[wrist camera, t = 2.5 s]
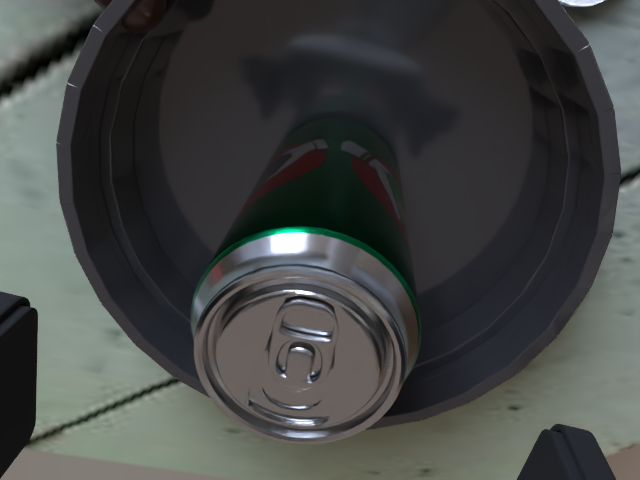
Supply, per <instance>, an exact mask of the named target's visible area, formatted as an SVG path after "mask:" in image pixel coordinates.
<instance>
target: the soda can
mask: <svg viewBox="0 0 640 480" xmlns="http://www.w3.org/2000/svg"><path fill="white" fill-rule="evenodd" d="M191 330H192V336H193V341H194V359H195V365H196V370H197V373H198V375H199V378H200V381H201V383H202V385H203V387H204V388H205V390H206V392H207V394H208V395H209V396H210V398H211V399H212V400H213V401H214V403H215V404H216V405H217V406H218V407H219V408H220V409H221V410H222V411H223V412H224V413H225V414H226V415H227V416H228V417H230V418H231V419H233V420H234V421H235V422H237V423H238V424H239V425H241V426H243V427H245V428H247V429H248V430H250V431H252V432H254V433H257V434H259V435H262V436H264V437H267V438H270V439H274V440H278V441H282V442H288V443H295V444H320V443H329V442H333V441H337V440H342V439H345V438H347V437H350V436H353V435H355V434H358V433H359V432H361V431H363V430H365V429H367V428H368V427H370V426H371V425H373V424H374V423H375V422H376V421H378V420H379V419H380V418H381V417H382V416H383V415H384V414H385V413H386V412H387V411H388V410H389V409H390V407H391V406H392V404H393V403H394V401H395V400H396V398H397V397H398V394H399V392H400V389H401V387H402V384H403V383H404V382H405V380H406V378H407V377H408V375H409V374H410V372H411V371H412V369H413V366H414V364H415V362H416V359H417V357H418V353H419V348H420V343H421V319H420V312H419V305H418V298H417V290H416V283H415V276H414V269H413V262H412V255H411V248H410V240H409V233H408V226H407V219H406V212H405V205H404V198H403V190H402V183H401V176H400V170H399V165H398V162H397V159H396V156H395V154H394V152H393V150H392V148H391V147H390V145H389V144H388V143H387V141H386V140H385V139H384V138H383V137H382V136H381V135H380V134H379V133H378V132H377V131H376V130H374V129H373V128H371V127H370V126H368V125H366V124H364V123H362V122H360V121H358V120H354V119H351V118H347V117H339V116H326V117H321V118H316V119H313V120H310V121H307V122H305V123H303V124H301V125H299V126H298V127H296V128H295V129H293V130H292V131H291V132H290V133H288V134H287V135H286V136H285V138H284V139H283V140H282V141H281V142H280V144H279V145H278V147H277V149H276V150H275V152H274V154H273V155H272V157H271V159H270V160H269V162H268V164H267V166H266V167H265V169H264V171H263V172H262V174H261V176H260V178H259V179H258V181H257V183H256V184H255V186H254V188H253V190H252V191H251V193H250V195H249V196H248V198H247V200H246V202H245V203H244V205H243V207H242V208H241V210H240V212H239V214H238V215H237V217H236V219H235V220H234V222H233V224H232V225H231V227H230V229H229V231H228V232H227V234H226V236H225V237H224V239H223V241H222V243H221V244H220V246H219V248H218V249H217V251H216V253H215V255H214V256H213V258H212V260H211V261H210V263H209V265H208V267H207V268H206V270H205V272H204V273H203V275H202V277H201V279H200V280H199V283H198V285H197V288H196V290H195V293H194V296H193V301H192V306H191Z"/></svg>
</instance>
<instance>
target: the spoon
mask: <svg viewBox="0 0 640 480" xmlns="http://www.w3.org/2000/svg"><path fill="white" fill-rule="evenodd" d="M558 1H559V2H560V3H561V5H564V6H567V7H568V6H570V7H578V8H579V7H590V6H593V5H595V4H598V3H600V2H603V1H605V0H558Z"/></svg>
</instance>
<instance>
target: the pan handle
mask: <svg viewBox="0 0 640 480" xmlns="http://www.w3.org/2000/svg"><path fill="white" fill-rule="evenodd" d="M94 1H95V2H96V3H97V4H98V5H99V6H100V7H101V8H102V9H103V10H105V9H106V8H107V6H108V5H109V4H110V3H111V1H112V0H94ZM165 12H166V0H143V1H142V2H141V3H140V4H139V5H138V6H137V7H136V8H135V9H134V10H133V12H132V13H131V14H130V15H129V17H128V18H127V20H126V22H125V24H124V29H125V30H127V31H130V32H134V33H145V32H148V31H151V30H153V29H155V28H156V27H157V26H158V25H159V24H160V23H161V22H162V20H163V18H164V16H165Z"/></svg>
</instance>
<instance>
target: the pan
mask: <svg viewBox="0 0 640 480" xmlns="http://www.w3.org/2000/svg"><path fill="white" fill-rule="evenodd" d="M142 1H143V0H112V1H111V3H110V4H109V5H108V6H107V8H106V9H105V10H104V11H103V13H102V14H101V15H100V16H99V17H98V19H97V20H96V21H95V23H94V25H93V26H92V28H91V30H90V33H89V35H88V37H87V39H86V41H85V44H84V46H83V48H82V50H81V52H80V55H79V57H78V59H77V61H76V64H75V66H74V68H73V70H72V72H71V75H70V77H69V79H68V83H67V86H66V91H65V97H64V102H63V108H62V113H61V119H60V125H59V130H58V136H57V144H56V146H57V164H58V181H59V198H60V204H61V207H62V211H63V214H64V218H65V221H66V225H67V228H68V232H69V235H70V239H71V242H72V246H73V249H74V253H75V254H76V257H77V259H78V261H79V263H80V265H81V266H82V268H83V270H84V272H85V274H86V276H87V278H88V280H89V281H90V283H91V285H92V287H93V289H94V291H95V293H96V295H97V297H98V298H99V300H100V302H102V305H103V306H104V307H105V309H106V310H107V311H108V312H109V313H110V315H111V316H112V317H113V318H114V320H115V321H116V322H117V323H118V324H119V326H120V327H121V328H122V329H123V331H124V332H125V333H126V334H127V335H128V337H129V338H130V339H131V340H132V342H133V343H135V345H136V346H137V347H139V348H140V349H141V350H142V351H143V352H145V353H146V354H147V355H148V356H149V357H151V358H152V359H153V360H154V361H155V362H157V363H158V364H159V365H160V366H161V367H162V368H164V369H165V370H166V371H167V372H168V373H170V374H171V375H172V376H173V377H175V378H176V379H178V380H180V381H181V382H183V383H185V384H187V385H188V386H190V387H192V388H194V389H195V390H197V391H199V392H201V393H202V394H204V395H206V396H208V397H209V398H210V396H209V395H208V394H207V392H206V390H205V388H204V387H203V385H202V383H201V381H200V378H199V375H198V373H197V370H196V365H195V359H194V341H193V336H192V330H191V306H192V301H193V296H194V293H195V290H196V288H197V285H198V283H199V280H200V279H201V277H202V275H203V273H204V272H205V270H206V268H207V267H208V265H209V263H210V261H211V260H212V258H213V256H214V255H215V253H216V251H217V249H218V248H219V246H220V244H221V243H222V241H223V239H224V237H225V236H226V234H227V232H228V231H229V229H230V227H231V225H232V224H233V222H234V220H235V219H236V217H237V215H238V214H239V212H240V210H241V208H242V207H243V205H244V203H245V202H246V200H247V198H248V196H249V195H250V193H251V191H252V190H253V188H254V186H255V184H256V183H257V181H258V179H259V178H260V176H261V174H262V172H263V171H264V169H265V167H266V166H267V164H268V162H269V160H270V159H271V157H272V155H273V154H274V152H275V150H276V149H277V147H278V145H279V144H280V142H281V141H282V140H283V139H284V138H285V136H286V135H287V134H288V133H290V132H291V131H292V130H293V129H295V128H296V127H298V126H299V125H301V124H303V123H305V122H307V121H310V120H313V119H316V118H321V117H326V116H339V117H347V118H351V119H354V120H358V121H360V122H362V123H364V124H366V125H368V126H370V127H371V128H373V129H374V130H376V131H377V132H378V133H379V134H380V135H381V136H382V137H383V138H384V139H385V140H386V141H387V143H388V144H389V145H390V147H391V148H392V150H393V152H394V154H395V156H396V159H397V162H398V165H399V170H400V176H401V183H402V190H403V198H404V205H405V212H406V219H407V226H408V233H409V240H410V248H411V255H412V262H413V269H414V276H415V283H416V290H417V298H418V305H419V312H420V319H421V343H420V348H419V353H418V357H417V359H416V362H415V364H414V366H413V369H412V371H411V372H410V374H409V375H408V377H407V378H406V380H405V382H404V383H403V384H402V387H401V389H400V392H399V394H398V397H397V398H396V400H395V401H394V403H393V404H392V406H391V407H390V409H389V410H388V411H387V412H386V413H385V414H384V415H383V416H382V417H381V418H380V419H379V420H378V421H376V422H375V423H374V424H373V425H371V426H370V427H368V428H367V429H376V428H381V427H387V426H393V425H398V424H404V423H410V422H415V421H420V420H421V419H422V420H424V419H427V418H429V417H432V416H435V415H437V414H440V413H443V412H446V411H448V410H451V409H454V408H456V407H459V406H462V405H464V404H467V403H470V402H471V401H473V400H475V399H477V398H478V397H480V396H482V395H483V394H485V393H486V392H488V391H490V390H491V389H493V388H495V387H496V386H498V385H500V384H501V383H503V382H505V381H506V380H508V379H509V378H511V377H513V376H514V375H516V373H519V372H520V371H521V370H522V369H523V368H524V367H525V366H526V365H527V364H528V363H530V362H531V361H532V360H533V359H534V358H535V357H536V356H537V355H538V354H539V353H540V352H541V351H542V350H544V349H545V348H546V347H547V346H548V345H549V344H550V343H551V342H552V341H553V340H554V339H555V338H556V337H557V336H558V335H559V333H560V332H561V331H562V329H563V328H564V326H565V325H566V323H567V322H568V321H569V319H570V318H571V316H572V315H573V313H574V312H575V311H576V309H577V308H578V306H579V305H580V303H581V302H582V301H583V299H584V298H585V296H586V295H587V293H588V292H589V289H590V288H591V286H592V284H593V281H594V279H595V276H596V274H597V271H598V269H599V266H600V264H601V261H602V259H603V256H604V254H605V252H606V249H607V247H608V244H609V242H610V239H611V237H612V233H613V226H614V219H615V212H616V205H617V199H618V192H619V185H620V178H621V166H620V157H619V148H618V139H617V130H616V120H615V111H614V109H613V103H612V101H611V98H610V96H609V93H608V90H607V88H606V85H605V83H604V80H603V77H602V75H601V72H600V69H599V67H598V64H597V62H596V59H595V56H594V54H593V51H592V49H591V46H590V45H589V42H588V41H587V39H586V38H585V36H584V35H583V34H582V32H581V31H580V30H579V28H578V27H577V25H576V24H575V23H574V21H573V20H572V19H571V17H570V16H569V14H568V13H567V12H566V10H565V9H564V8H563V6H562V5H561V3H560V2H559V1H558V0H166V12H165V16H164V18H163V20H162V22H161V23H160V24H159V25H158V26H157V27H156V28H155V29H153V30H151V31H148V32H145V33H134V32H130V31H127V30H125V29H124V24H125V22H126V20H127V18H128V17H129V15H130V14H131V13H132V12H133V10H134V9H135V8H136V7H137V6H138V5H139V4H140V3H141V2H142Z"/></svg>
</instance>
